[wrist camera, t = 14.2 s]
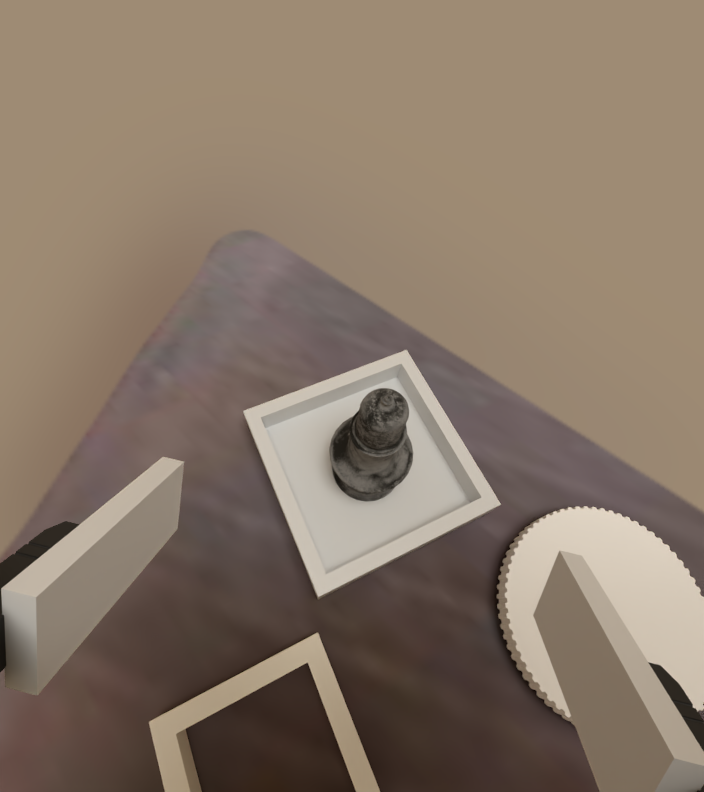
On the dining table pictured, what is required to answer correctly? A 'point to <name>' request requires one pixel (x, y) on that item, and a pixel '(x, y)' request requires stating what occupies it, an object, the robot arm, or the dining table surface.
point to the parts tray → (353, 519)
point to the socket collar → (173, 724)
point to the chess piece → (373, 447)
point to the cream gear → (624, 586)
